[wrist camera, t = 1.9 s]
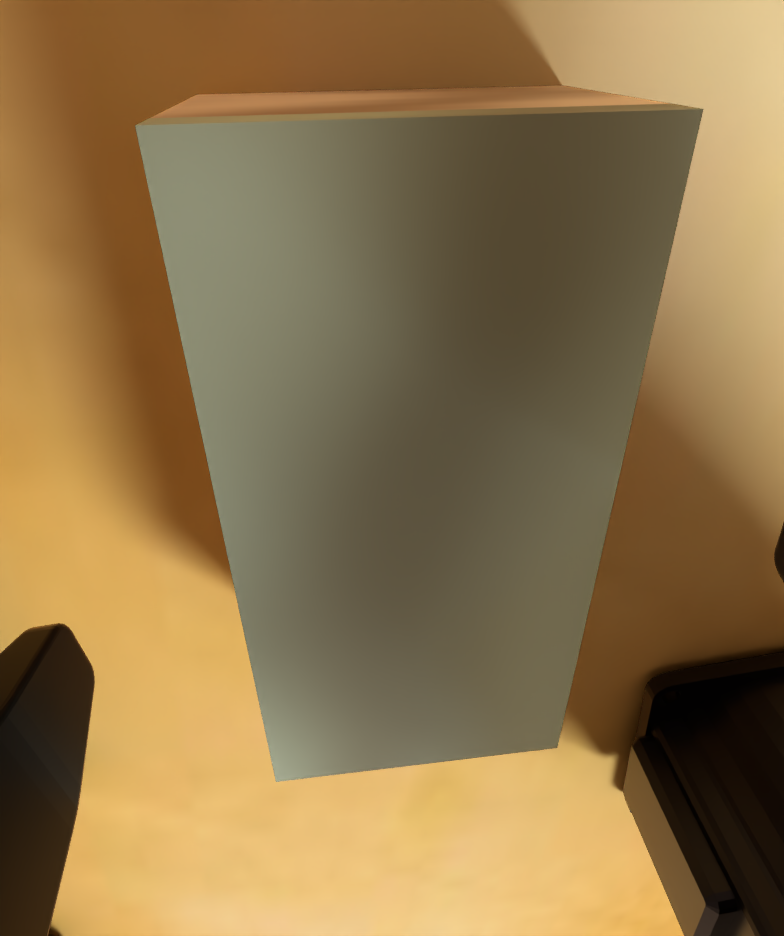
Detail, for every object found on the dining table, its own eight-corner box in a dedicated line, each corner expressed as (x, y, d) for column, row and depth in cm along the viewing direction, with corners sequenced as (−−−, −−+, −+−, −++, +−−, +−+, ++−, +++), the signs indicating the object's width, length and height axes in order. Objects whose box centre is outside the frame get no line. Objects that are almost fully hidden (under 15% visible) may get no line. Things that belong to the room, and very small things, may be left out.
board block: (556, 83, 9) (702, 108, 6) (499, 588, 15) (556, 748, 11) (198, 93, 9) (135, 125, 5) (282, 609, 14) (276, 781, 11)
